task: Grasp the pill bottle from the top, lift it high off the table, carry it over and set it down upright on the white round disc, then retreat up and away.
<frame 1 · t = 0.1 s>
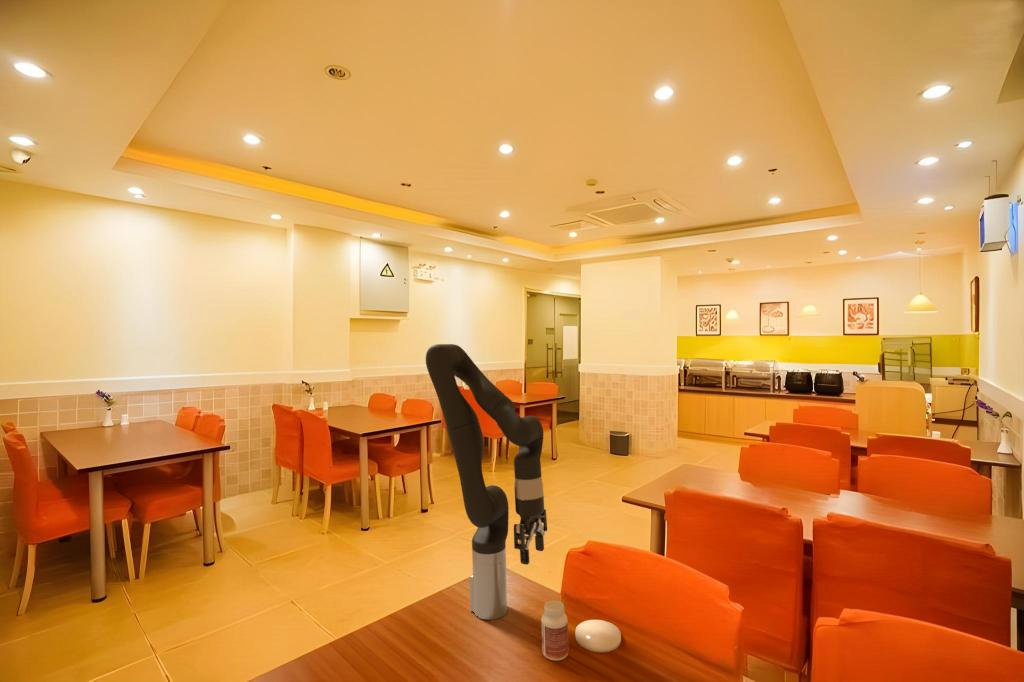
hand: (532, 556, 120), 17 cm above the table, tool pointing down, fingers open, 8 cm apart
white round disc: (598, 637, 114), on the table
pill bottle: (555, 653, 108), on the table
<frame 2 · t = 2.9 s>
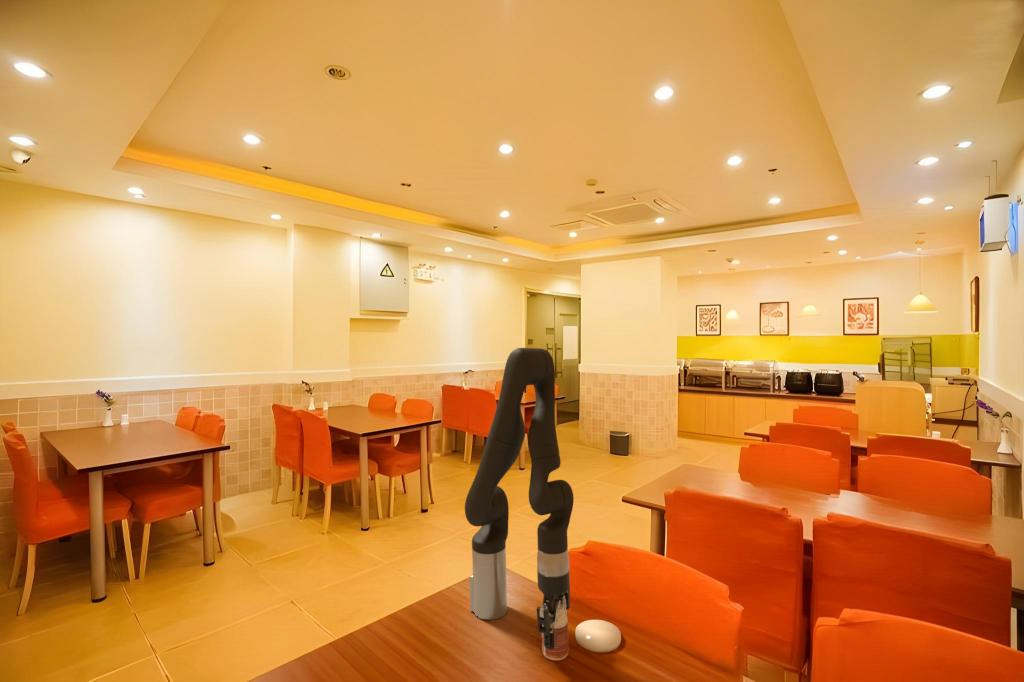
hand: (555, 639, 108), 3 cm above the table, tool pointing down, fingers closed on pill bottle, 6 cm apart
pill bottle: (555, 653, 108), on the table, touching gripper
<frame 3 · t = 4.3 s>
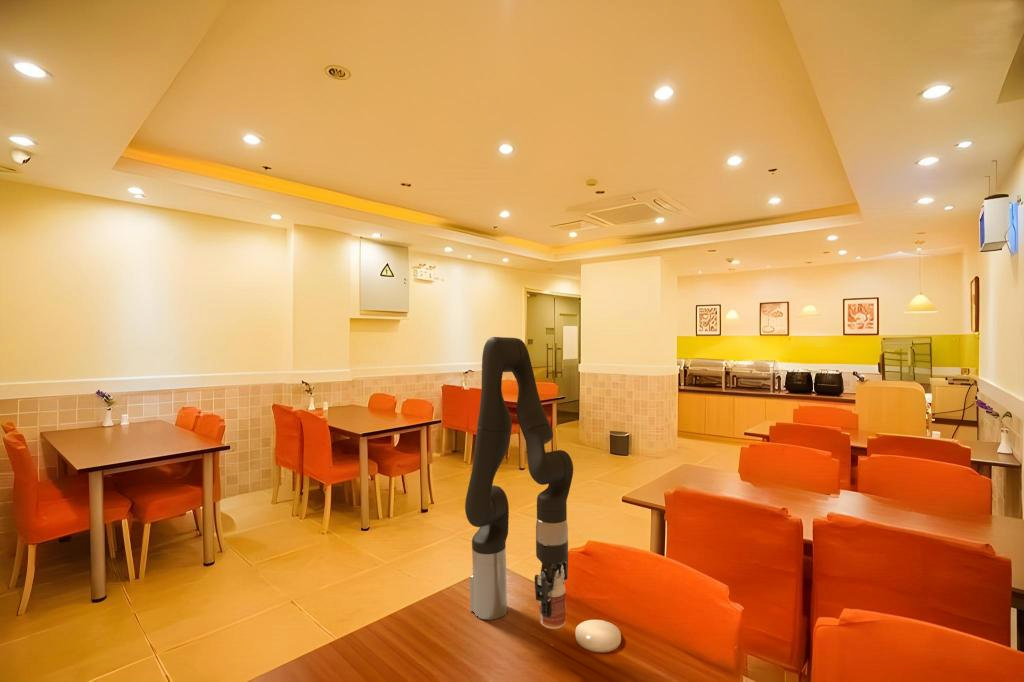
hand: (552, 608, 109), 10 cm above the table, tool pointing down, fingers closed on pill bottle, 6 cm apart
pill bottle: (552, 622, 109), point 7 cm above the table, touching gripper
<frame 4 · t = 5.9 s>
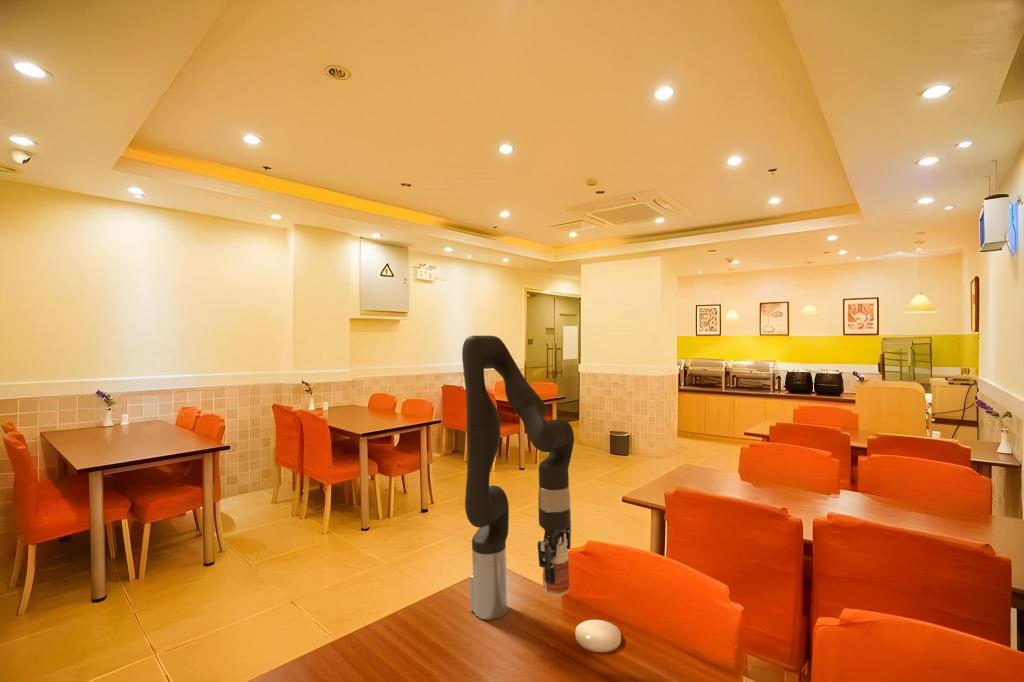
hand: (556, 576, 109), 18 cm above the table, tool pointing down, fingers closed on pill bottle, 6 cm apart
pill bottle: (556, 590, 109), point 14 cm above the table, touching gripper
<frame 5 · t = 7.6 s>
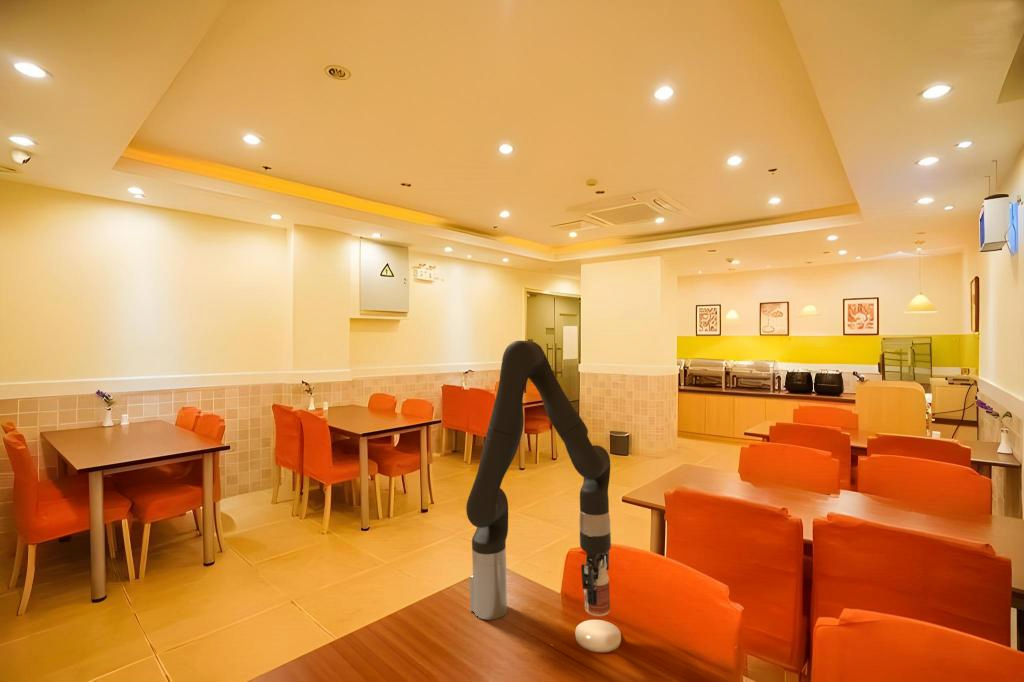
hand: (596, 597, 114), 10 cm above the table, tool pointing down, fingers closed on pill bottle, 6 cm apart
pill bottle: (597, 611, 114), point 6 cm above the table, touching gripper
when the fingers open (6 cm above the table, at t = 8.9 s): pill bottle drops 1 cm, resting on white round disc.
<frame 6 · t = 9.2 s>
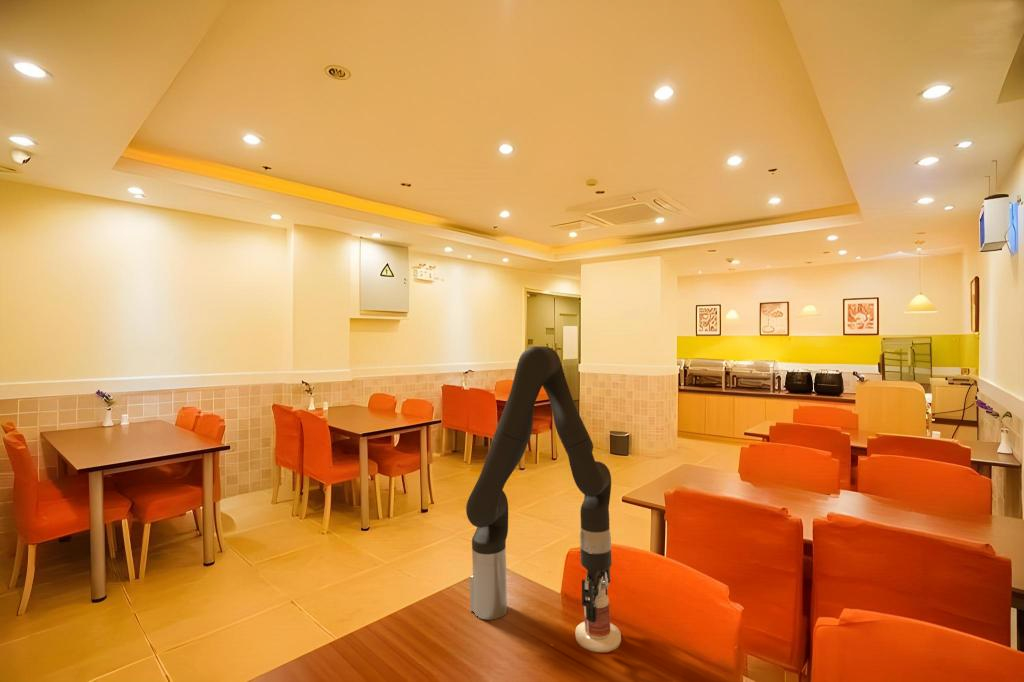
hand: (597, 611, 114), 6 cm above the table, tool pointing down, fingers open, 8 cm apart
pill bottle: (597, 633, 114), point 1 cm above the table, touching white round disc
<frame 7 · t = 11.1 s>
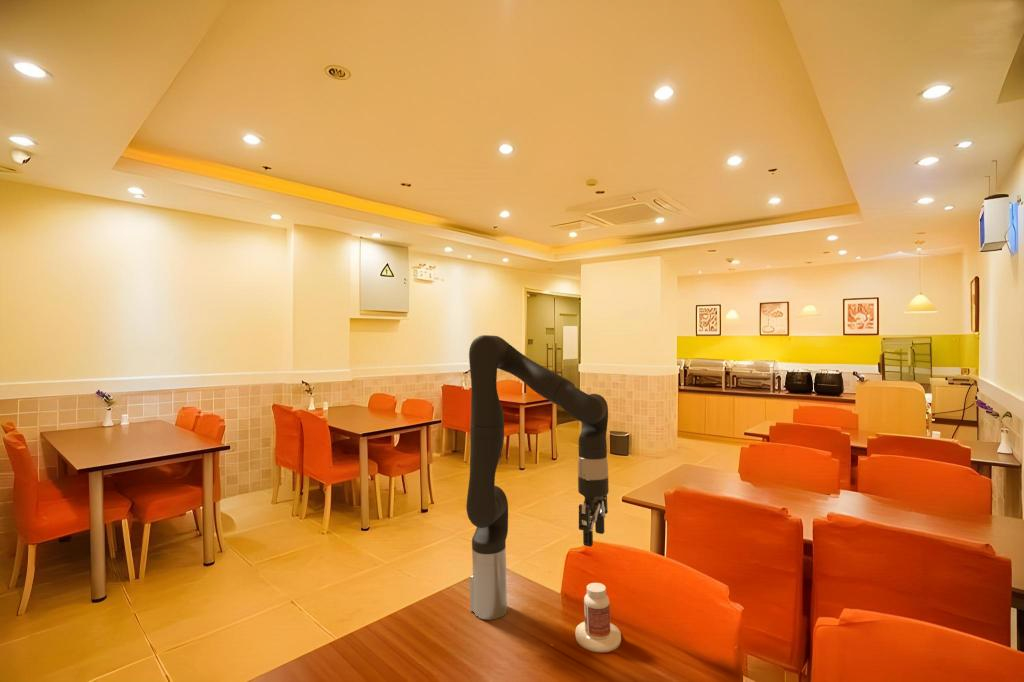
hand: (594, 539, 116), 23 cm above the table, tool pointing down, fingers open, 8 cm apart
nothing on the table moved.
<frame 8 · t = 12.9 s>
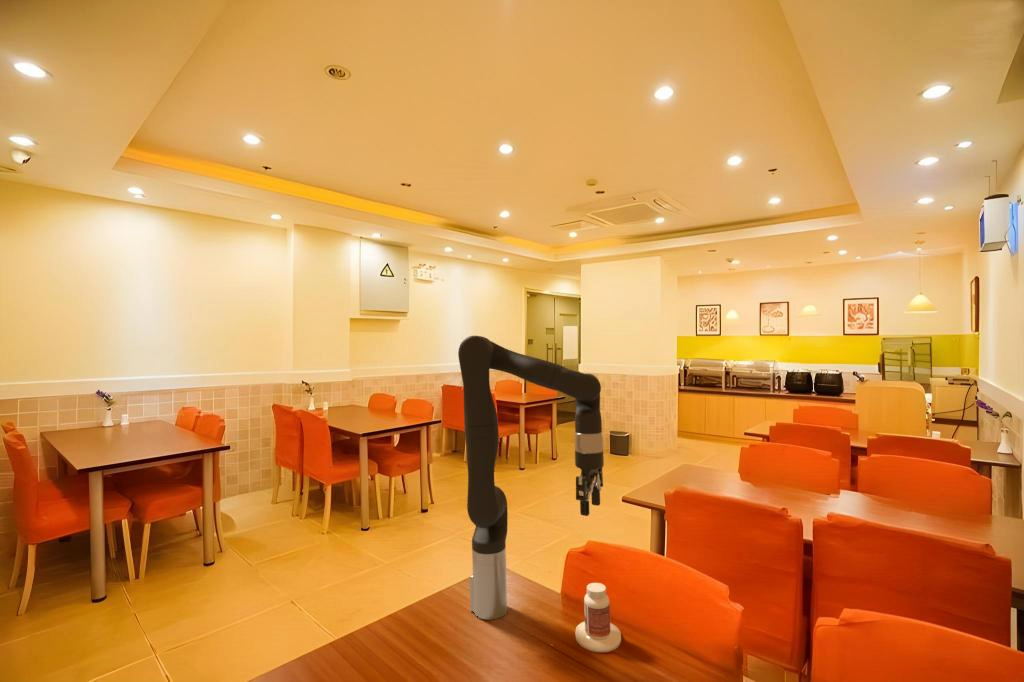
hand: (590, 509, 123), 28 cm above the table, tool pointing down, fingers open, 8 cm apart
nothing on the table moved.
at the end: pill bottle inside the target area on the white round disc (0.1 cm from its centre), point 1.0 cm above the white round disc's base; pill bottle tilted 0°; the gripper is holding nothing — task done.
